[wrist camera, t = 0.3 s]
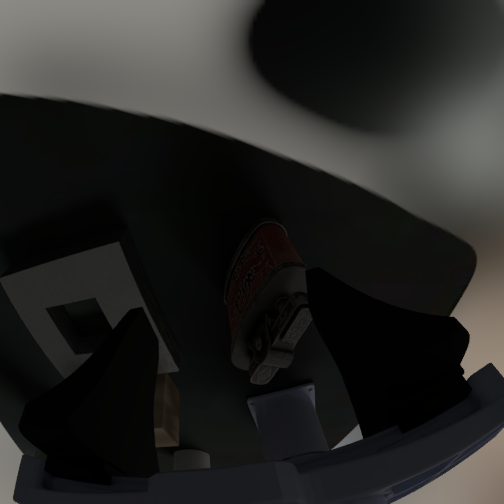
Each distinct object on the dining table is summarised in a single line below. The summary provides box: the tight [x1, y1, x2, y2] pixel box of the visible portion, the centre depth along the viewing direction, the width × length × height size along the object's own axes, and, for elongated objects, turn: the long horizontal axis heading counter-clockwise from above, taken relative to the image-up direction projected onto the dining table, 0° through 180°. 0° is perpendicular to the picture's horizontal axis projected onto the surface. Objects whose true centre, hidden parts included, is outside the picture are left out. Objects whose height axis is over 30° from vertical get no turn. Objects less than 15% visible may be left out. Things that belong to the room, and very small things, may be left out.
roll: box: [173, 449, 210, 471], centre depth 32 cm, size 6×12×6 cm
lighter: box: [223, 218, 313, 384], centre depth 19 cm, size 8×3×10 cm, turn 156°
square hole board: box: [0, 228, 180, 379], centre depth 22 cm, size 13×13×2 cm
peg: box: [154, 373, 179, 447], centre depth 25 cm, size 4×4×7 cm
